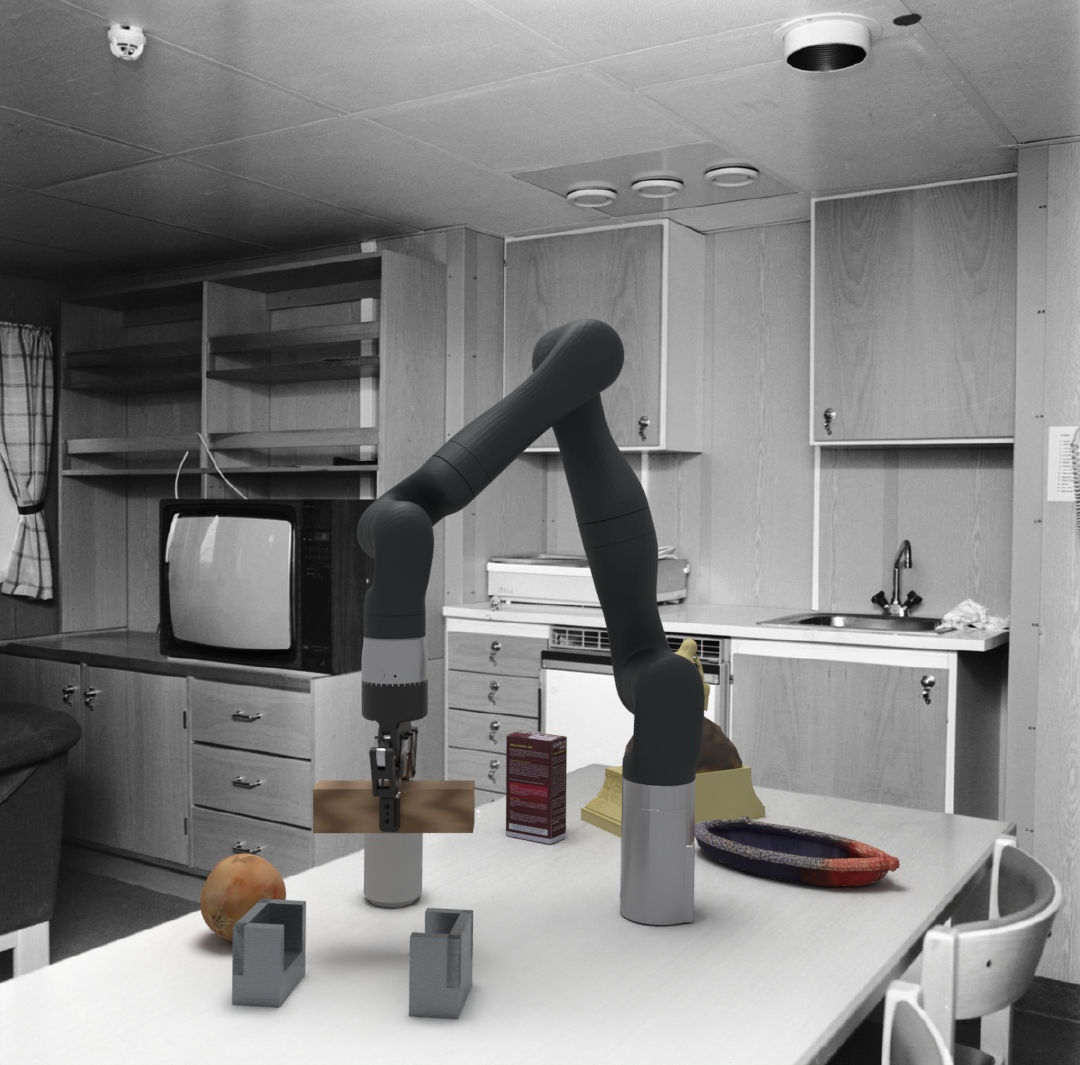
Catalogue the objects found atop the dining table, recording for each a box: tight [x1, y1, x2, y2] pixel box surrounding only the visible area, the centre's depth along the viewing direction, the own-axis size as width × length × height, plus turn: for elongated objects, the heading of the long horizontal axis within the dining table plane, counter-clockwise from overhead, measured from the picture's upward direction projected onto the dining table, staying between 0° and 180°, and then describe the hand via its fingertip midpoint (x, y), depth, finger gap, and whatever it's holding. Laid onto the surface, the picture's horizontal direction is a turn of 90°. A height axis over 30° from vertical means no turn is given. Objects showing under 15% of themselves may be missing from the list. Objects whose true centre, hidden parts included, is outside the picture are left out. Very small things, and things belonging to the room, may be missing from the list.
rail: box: [312, 779, 476, 834], centre depth 132 cm, size 18×4×5 cm, turn 91°
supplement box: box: [505, 730, 568, 845], centre depth 179 cm, size 9×5×16 cm, turn 58°
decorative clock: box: [580, 638, 766, 839], centre depth 191 cm, size 28×13×30 cm, turn 120°
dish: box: [694, 816, 901, 888], centre depth 165 cm, size 16×31×5 cm, turn 51°
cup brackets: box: [231, 899, 474, 1020], centre depth 121 cm, size 23×8×8 cm, turn 84°
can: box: [363, 833, 424, 908], centre depth 150 cm, size 8×8×12 cm
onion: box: [200, 853, 287, 942], centre depth 136 cm, size 10×10×10 cm
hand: (394, 824), depth 133 cm, fingers closed on rail, 4 cm apart
